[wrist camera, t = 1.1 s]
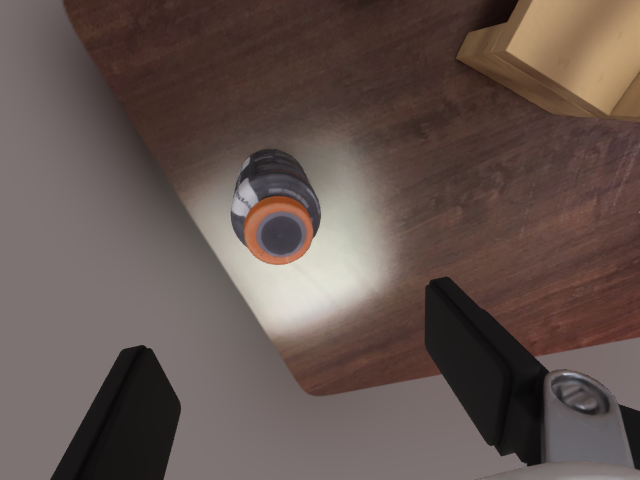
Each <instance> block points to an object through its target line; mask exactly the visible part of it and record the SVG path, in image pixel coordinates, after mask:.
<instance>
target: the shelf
mask: <svg viewBox="0 0 640 480" xmlns="http://www.w3.org/2000/svg"><path fill="white" fill-rule="evenodd" d="M456 59H458V60H459V61H461V62H463V63H464V64H466V65H468V66H470V67H471V68H473V69H475V70H477V71H478V72H480V73H482V74H484V75H485V76H487V77H489V78H490V79H492V80H494V81H496V82H497V83H499V84H501V85H503V86H504V87H506V88H508V89H510V90H511V91H513V92H515V93H516V94H518V95H520V96H522V97H523V98H525V99H527V100H529V101H530V102H532V103H534V104H536V105H537V106H539V107H541V108H542V109H544V110H546V111H548V112H549V113H551V114H556V115H567V116H578V117H590V118H600V119H612V120H624V121H635V122H640V0H519V1H518V3H517V5H516V7H515V9H514V11H513V12H512V14H511V16H510V18H509V20H508V22H506V23H502V24H499V25H495V26H491V27H487V28H484V29H480V30H476V31H472V32H469V33H468V34H467V36H466V38H465V40H464V42H463V44H462V46H461V48H460V50H459V52H458V54H457V56H456Z"/></svg>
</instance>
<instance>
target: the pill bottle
mask: <svg viewBox="0 0 640 480" xmlns="http://www.w3.org/2000/svg"><path fill="white" fill-rule="evenodd" d="M320 219H321V210H320V204H319V201H318V199H317V196H316V194H315V192H314V190H313V188H312V186H311V184H310V182H309V180H308V178H307V176H306V174H305V173H304V171H303V169H302V167H301V166H300V164H299V163H298V162H297V161H296V160H295V159H294V158H293V157H292V156H291V155H289V154H287V153H285V152H283V151H280V150H276V149H274V150H271V149H267V150H262V151H258V152H256V153H254V154H252V155H251V156H250V157H249V158H248V159H247V160H246V161H245V162H244V163H243V165H242V166H241V168H240V171H239V174H238V179H237V183H236V188H235V193H234V197H233V202H232V207H231V222H232V226H233V229H234V231H235V233H236V235H237V237H238V238H239V240H240V241H241V242H242V243H243V244H244V245H245V246H246V247H247V248H248V249H249V250H250V252H251V253H252V254H253V255H254V256H255V257H256V258H258V259H259V260H261V261H263V262H265V263H269V264H274V265H283V264H288V263H291V262H293V261H295V260H297V259H299V258H300V257H302V256H303V255H304V254H305V253H306V251H307V250H308V249H309V247H310V245H311V242H312V239H313V238H314V236H315V235H316V233H317V231H318V228H319V225H320Z"/></svg>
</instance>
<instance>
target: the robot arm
mask: <svg viewBox="0 0 640 480" xmlns="http://www.w3.org/2000/svg"><path fill="white" fill-rule="evenodd" d="M425 346H426V349H427V351H428V353H429V354H430V356H431V358H432V359H433V361H434V362H435V364H436V365H437V367H438V368H439V370H440V372H441V373H442V375H443V376H444V378H445V379H446V381H447V382H448V384H449V385H450V387H451V388H452V390H453V392H454V393H455V395H456V396H457V398H458V399H459V401H460V402H461V404H462V406H463V407H464V409H465V410H466V412H467V413H468V415H469V417H470V418H471V420H472V421H473V423H474V424H475V426H476V427H477V429H478V431H479V432H480V434H481V435H482V437H483V438H484V440H485V441H486V443H487V444H488V445H490V446H492V445H494V446H495V448H496V449H497V451H498V452H499V454H500V455H501V456H505V455H508V454H512V453H516V455H517V456H518V457H519V459H520V460H521V462H524V468H519V469H515V470H511V471H507V472H503V473H499V474H496V475H492V476H488V477H484V478H480V479H476V480H640V411H637V410H634V409H632V408H629V407H626V406H623V405H620V404H618V402H617V400H616V398H615V396H614V395H613V394H612V393H611V392H610V391H609V389H608V388H606V387H605V386H604V385H603V384H601V383H600V382H599V381H597V380H595V379H593V378H591V377H590V376H588V375H585V374H583V373H580V372H577V371H571V370H566V369H564V370H555V371H552V372H549V371H548V370H547V369H546V368H545V367H544V366H543V365H542V364H541V363H540V362H539V361H537V359H535V357H534V356H532V355H531V354H530V353H529V352H528V351H527V350H526V349H525V348H524V347H523V346H522V345H521V344H520V343H519V342H518V341H517V340H516V339H515V338H514V337H513V336H512V335H511V334H510V333H509V332H508V331H507V330H506V329H505V328H503V327H502V326H501V325H500V324H499V323H498V322H497V321H496V320H495V319H494V318H493V317H492V316H491V315H490V314H489V313H488V312H487V311H485V310H484V309H481V308H480V307H479V306H478V305H477V304H476V303H475V302H474V301H473V300H472V299H471V298H470V297H469V296H468V295H467V294H465V293H464V292H463V291H462V290H461V289H460V288H459V287H458V286H457V285H456V284H455V283H454V282H453V281H452V280H451V279H450V278H449V277H442V278H438V279H433V280H431V281H430V283H429V285H427V286H426V288H425ZM180 412H181V405H180V401H179V399H178V397H177V396H176V394H175V392H174V390H173V388H172V386H171V384H170V382H169V380H168V379H167V377H166V375H165V373H164V371H163V369H162V367H161V365H160V363H159V361H158V360H157V358H156V356H155V354H154V352H153V350H152V349H151V348H146V347H145V346H144V345H140V346H136V347H131V348H126V349H123V350H122V351H121V352H120V354H119V356H118V357H117V359H116V361H115V363H114V365H113V367H112V368H111V370H110V372H109V374H108V376H107V377H106V379H105V381H104V383H103V385H102V387H101V388H100V390H99V392H98V394H97V396H96V397H95V399H94V401H93V403H92V405H91V407H90V409H89V410H88V412H87V414H86V416H85V417H84V419H83V421H82V423H81V425H80V427H79V428H78V430H77V432H76V434H75V436H74V437H73V439H72V441H71V443H70V445H69V447H68V448H67V450H66V452H65V454H64V456H63V457H62V459H61V461H60V463H59V465H58V467H57V468H56V471H55V472H54V474H53V476H52V478H51V479H50V480H163V479H164V475H165V471H166V467H167V464H168V460H169V456H170V452H171V448H172V444H173V440H174V436H175V433H176V429H177V425H178V421H179V416H180Z"/></svg>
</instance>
